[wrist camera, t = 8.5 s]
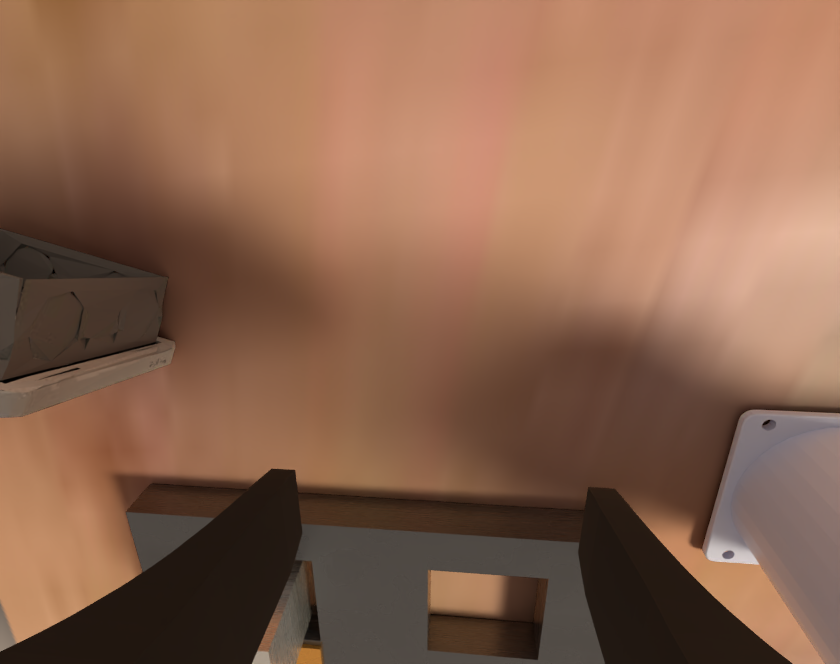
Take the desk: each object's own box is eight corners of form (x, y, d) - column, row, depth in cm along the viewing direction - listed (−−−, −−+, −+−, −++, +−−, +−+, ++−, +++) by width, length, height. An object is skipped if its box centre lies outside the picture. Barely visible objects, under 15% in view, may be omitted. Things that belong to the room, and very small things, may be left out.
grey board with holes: (617, 513, 23) (631, 549, 21) (590, 656, 27) (600, 699, 25) (150, 483, 25) (122, 515, 23) (186, 621, 29) (165, 659, 27)
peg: (310, 539, 26) (268, 651, 20) (318, 595, 27) (279, 713, 22) (236, 535, 26) (174, 644, 21) (247, 590, 28) (192, 706, 22)
